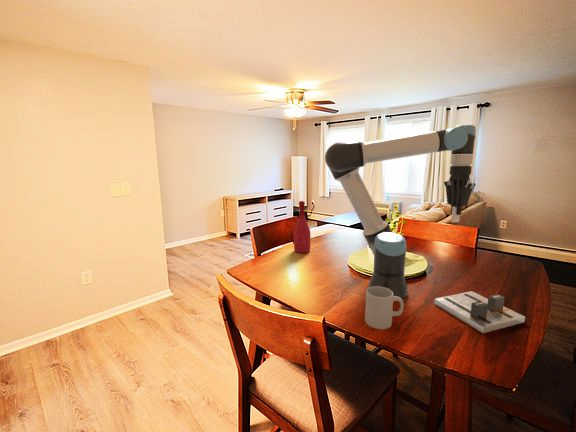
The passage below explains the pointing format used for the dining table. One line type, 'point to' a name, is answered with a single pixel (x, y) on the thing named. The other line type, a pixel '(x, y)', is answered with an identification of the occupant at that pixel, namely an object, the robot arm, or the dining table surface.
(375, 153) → the robot arm
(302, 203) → the wine bottle
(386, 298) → the mug
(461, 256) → the dining table surface
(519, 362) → the dining table surface
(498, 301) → the fader tab
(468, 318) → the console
